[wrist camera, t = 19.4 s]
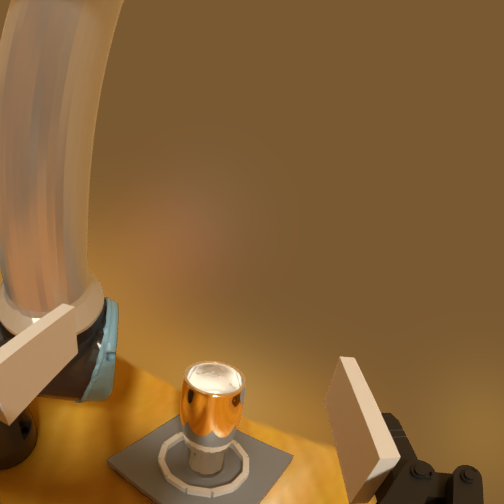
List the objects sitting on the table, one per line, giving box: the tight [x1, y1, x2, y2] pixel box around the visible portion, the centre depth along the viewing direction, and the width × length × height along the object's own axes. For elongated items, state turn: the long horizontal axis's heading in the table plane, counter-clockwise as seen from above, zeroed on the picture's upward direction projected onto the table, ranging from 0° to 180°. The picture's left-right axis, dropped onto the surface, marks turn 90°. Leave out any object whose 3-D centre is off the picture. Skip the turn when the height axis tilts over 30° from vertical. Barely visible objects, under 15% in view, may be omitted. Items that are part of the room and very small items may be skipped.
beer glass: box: [180, 361, 246, 480], centre depth 33 cm, size 7×7×15 cm
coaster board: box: [107, 414, 294, 504], centre depth 34 cm, size 18×18×2 cm
